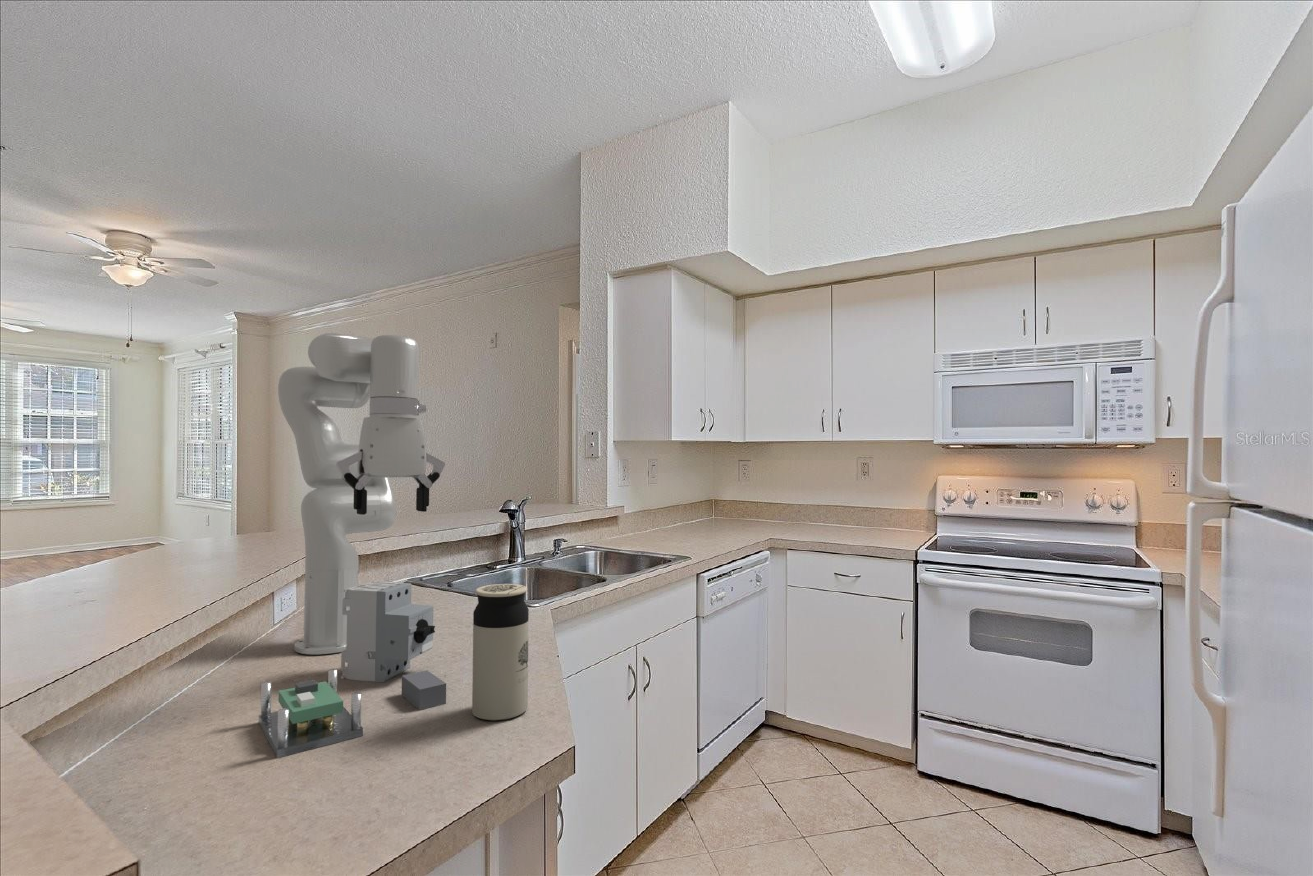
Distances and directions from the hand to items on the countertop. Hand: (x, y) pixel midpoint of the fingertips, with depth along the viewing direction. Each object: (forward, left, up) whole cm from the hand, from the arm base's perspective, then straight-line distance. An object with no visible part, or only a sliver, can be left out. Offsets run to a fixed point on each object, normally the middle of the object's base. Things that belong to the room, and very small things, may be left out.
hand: (392, 512), depth 106 cm
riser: (+10, +2, -28) cm, 30 cm away
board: (+11, -14, -25) cm, 31 cm away
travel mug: (+22, +9, -28) cm, 37 cm away
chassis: (+11, -14, -28) cm, 33 cm away
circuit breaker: (-5, +2, -28) cm, 29 cm away
